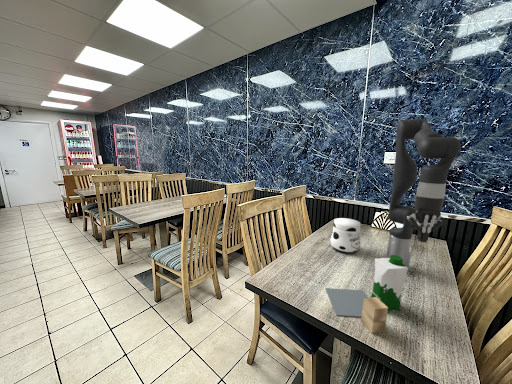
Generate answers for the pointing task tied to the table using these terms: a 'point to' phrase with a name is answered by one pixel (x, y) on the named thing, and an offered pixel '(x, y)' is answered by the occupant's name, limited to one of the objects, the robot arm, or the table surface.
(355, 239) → the milk container
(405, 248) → the robot arm
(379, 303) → the oak block
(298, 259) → the table surface
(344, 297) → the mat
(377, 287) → the soya milk
